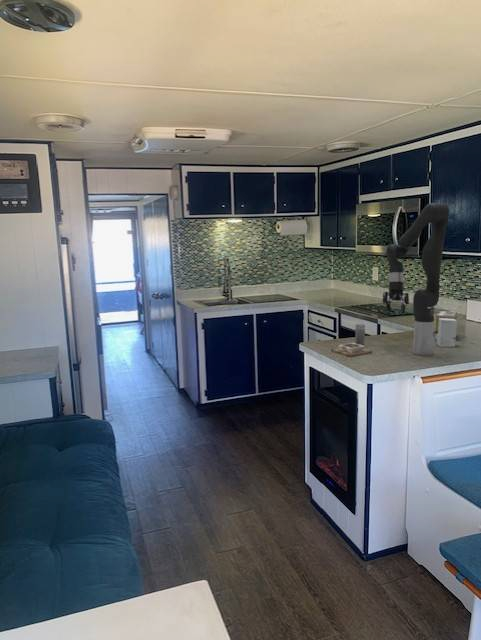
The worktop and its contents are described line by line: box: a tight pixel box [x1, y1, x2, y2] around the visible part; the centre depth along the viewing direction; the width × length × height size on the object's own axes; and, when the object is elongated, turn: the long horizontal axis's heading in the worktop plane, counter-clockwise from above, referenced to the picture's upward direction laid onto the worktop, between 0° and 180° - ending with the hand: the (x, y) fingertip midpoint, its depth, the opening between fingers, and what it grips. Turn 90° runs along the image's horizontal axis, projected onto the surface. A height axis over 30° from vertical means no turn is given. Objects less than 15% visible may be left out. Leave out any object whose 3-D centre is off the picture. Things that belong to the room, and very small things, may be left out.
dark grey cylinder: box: [354, 323, 366, 347], centre depth 261 cm, size 5×5×12 cm
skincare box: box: [436, 318, 458, 348], centre depth 259 cm, size 8×6×15 cm
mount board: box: [330, 342, 373, 358], centre depth 251 cm, size 15×15×4 cm
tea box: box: [435, 310, 458, 341], centre depth 277 cm, size 15×10×15 cm, turn 150°
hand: (395, 311), depth 253 cm, fingers open, 8 cm apart
